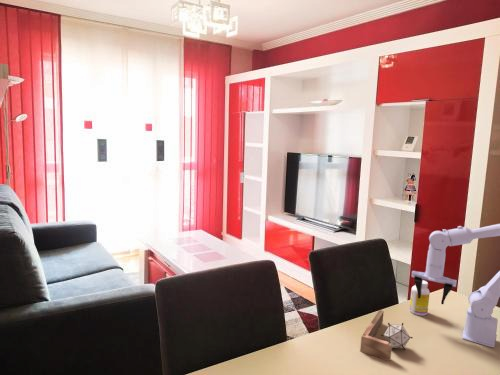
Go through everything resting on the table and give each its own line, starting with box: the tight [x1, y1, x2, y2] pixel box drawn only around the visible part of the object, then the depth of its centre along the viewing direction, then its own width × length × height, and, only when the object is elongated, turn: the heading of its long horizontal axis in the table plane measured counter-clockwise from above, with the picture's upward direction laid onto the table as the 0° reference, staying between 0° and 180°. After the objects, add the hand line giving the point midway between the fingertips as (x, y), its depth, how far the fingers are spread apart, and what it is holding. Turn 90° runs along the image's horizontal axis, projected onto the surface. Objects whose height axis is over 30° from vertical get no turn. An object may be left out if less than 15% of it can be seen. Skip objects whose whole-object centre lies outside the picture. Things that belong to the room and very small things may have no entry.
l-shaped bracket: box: [359, 309, 393, 362], centre depth 127 cm, size 9×24×5 cm, turn 148°
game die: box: [380, 322, 414, 351], centre depth 122 cm, size 9×8×10 cm
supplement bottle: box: [408, 279, 431, 317], centre depth 148 cm, size 7×7×13 cm
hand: (430, 300), depth 136 cm, fingers open, 7 cm apart
